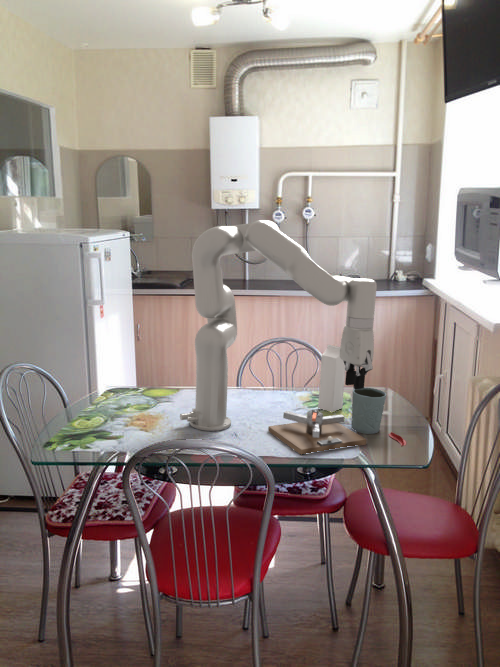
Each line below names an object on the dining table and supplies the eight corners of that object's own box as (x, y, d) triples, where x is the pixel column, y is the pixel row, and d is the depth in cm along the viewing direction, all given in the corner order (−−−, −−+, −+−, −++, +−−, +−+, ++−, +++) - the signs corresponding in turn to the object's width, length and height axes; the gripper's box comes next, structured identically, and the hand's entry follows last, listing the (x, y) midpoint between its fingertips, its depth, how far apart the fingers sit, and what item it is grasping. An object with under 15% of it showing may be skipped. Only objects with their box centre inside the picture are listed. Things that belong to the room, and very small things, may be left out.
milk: (332, 413, 198) (337, 349, 193) (317, 408, 202) (321, 345, 197) (342, 409, 202) (347, 346, 198) (327, 405, 206) (332, 343, 202)
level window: (321, 446, 164) (321, 444, 164) (316, 443, 167) (316, 441, 166) (342, 443, 168) (342, 440, 167) (337, 440, 170) (337, 437, 170)
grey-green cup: (347, 422, 189) (350, 386, 187) (379, 424, 189) (382, 388, 187) (352, 434, 179) (355, 396, 177) (385, 435, 179) (389, 397, 177)
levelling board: (300, 455, 162) (301, 449, 162) (268, 431, 178) (268, 426, 178) (366, 444, 172) (366, 439, 171) (329, 422, 188) (329, 418, 188)
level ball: (329, 442, 166) (329, 437, 166) (326, 440, 167) (326, 435, 167) (333, 441, 167) (333, 437, 166) (330, 439, 168) (330, 435, 168)
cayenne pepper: (407, 449, 171) (408, 442, 170) (391, 447, 171) (392, 441, 171) (402, 434, 182) (403, 428, 182) (387, 433, 183) (387, 427, 183)
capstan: (313, 445, 164) (315, 423, 162) (281, 423, 180) (282, 403, 178) (360, 438, 171) (362, 416, 169) (325, 417, 187) (326, 398, 185)
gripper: (331, 318, 171) (327, 380, 174) (367, 329, 156) (361, 396, 160) (353, 317, 174) (348, 378, 178) (389, 328, 159) (383, 393, 163)
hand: (354, 386), depth 169 cm, fingers open, 3 cm apart
